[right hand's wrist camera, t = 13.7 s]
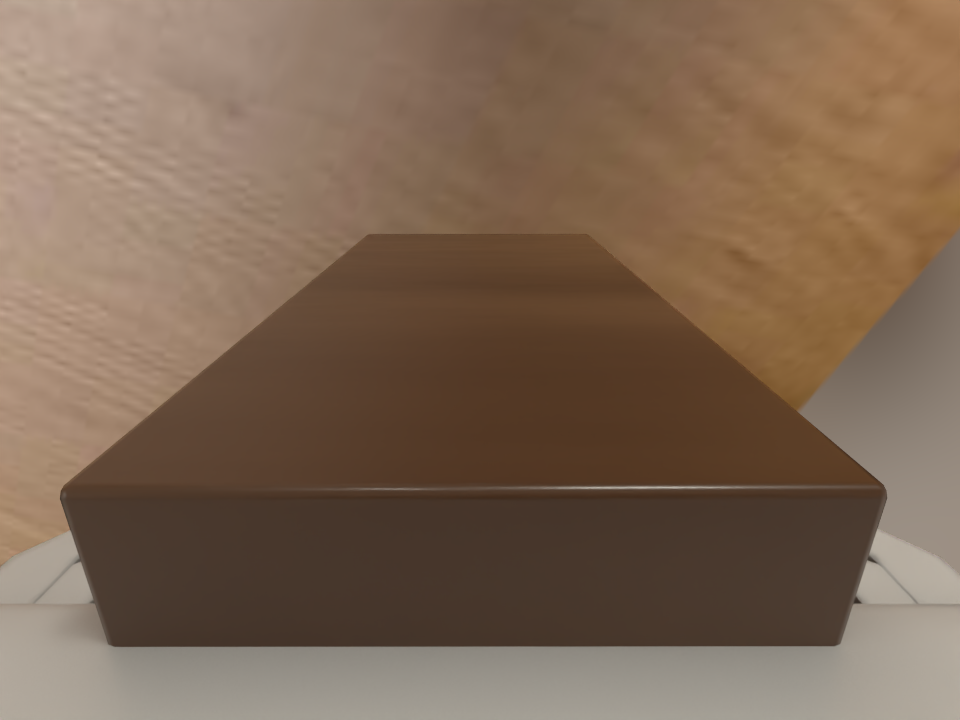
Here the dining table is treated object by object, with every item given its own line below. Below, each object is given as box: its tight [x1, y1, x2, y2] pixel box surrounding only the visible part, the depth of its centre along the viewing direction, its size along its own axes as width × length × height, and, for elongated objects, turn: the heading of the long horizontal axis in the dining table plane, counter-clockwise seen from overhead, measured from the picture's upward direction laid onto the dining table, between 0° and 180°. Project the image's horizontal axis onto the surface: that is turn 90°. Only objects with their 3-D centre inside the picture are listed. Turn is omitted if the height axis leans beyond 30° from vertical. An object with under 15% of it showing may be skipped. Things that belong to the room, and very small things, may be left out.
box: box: [60, 234, 887, 647], centre depth 13 cm, size 20×6×12 cm, turn 0°
